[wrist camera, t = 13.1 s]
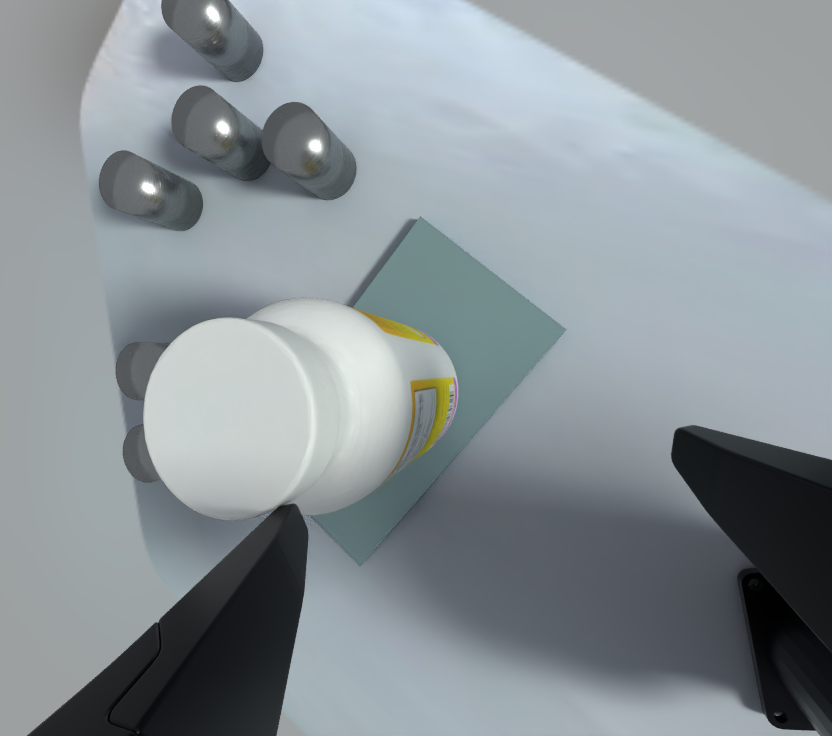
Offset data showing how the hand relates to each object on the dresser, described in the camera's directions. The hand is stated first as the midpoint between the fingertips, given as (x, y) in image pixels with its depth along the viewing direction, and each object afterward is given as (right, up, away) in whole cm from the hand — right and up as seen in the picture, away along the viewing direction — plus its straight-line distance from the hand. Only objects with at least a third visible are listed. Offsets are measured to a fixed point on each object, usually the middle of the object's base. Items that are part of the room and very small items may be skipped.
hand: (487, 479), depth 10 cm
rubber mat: (-3, +1, +13) cm, 13 cm away
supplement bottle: (-3, +1, +12) cm, 13 cm away
